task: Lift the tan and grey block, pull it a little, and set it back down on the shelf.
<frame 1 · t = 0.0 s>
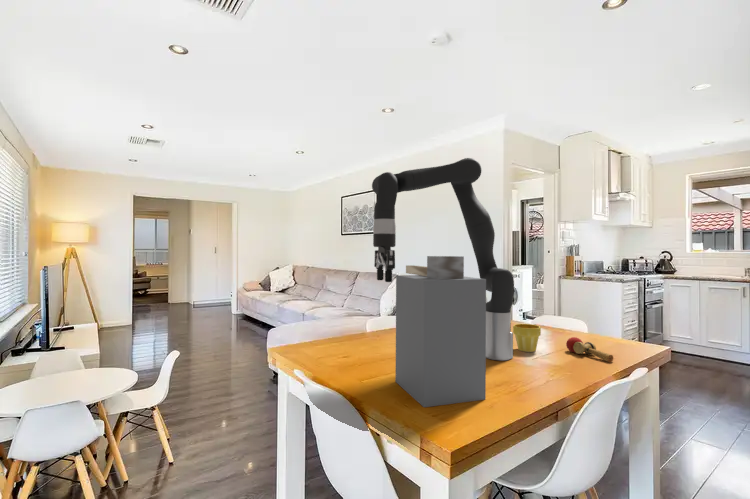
hand: (384, 281, 129), 29 cm above the table, fingers open, 8 cm apart
plant pot: (526, 350, 154), on the table
kendama: (588, 357, 146), on the table
shelf: (437, 389, 109), on the table
tan and grey block: (445, 278, 105), point 32 cm above the table, touching shelf
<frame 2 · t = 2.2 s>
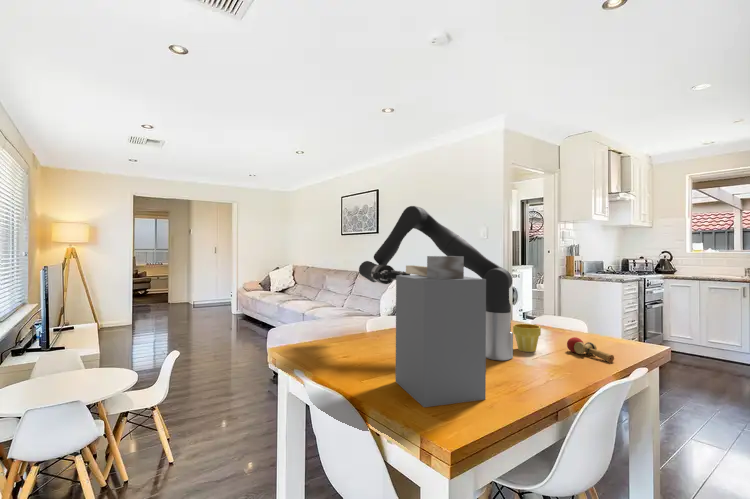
hand: (397, 276, 139), 30 cm above the table, fingers open, 8 cm apart
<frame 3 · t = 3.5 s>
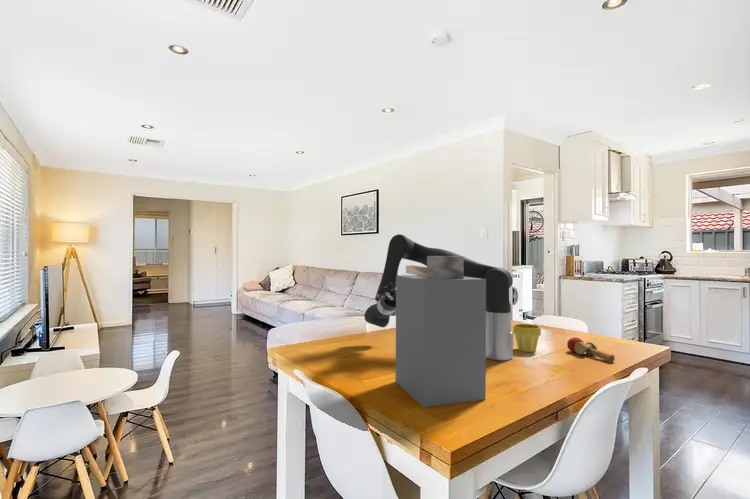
hand: (403, 285, 134), 28 cm above the table, fingers open, 8 cm apart
nothing on the table moved.
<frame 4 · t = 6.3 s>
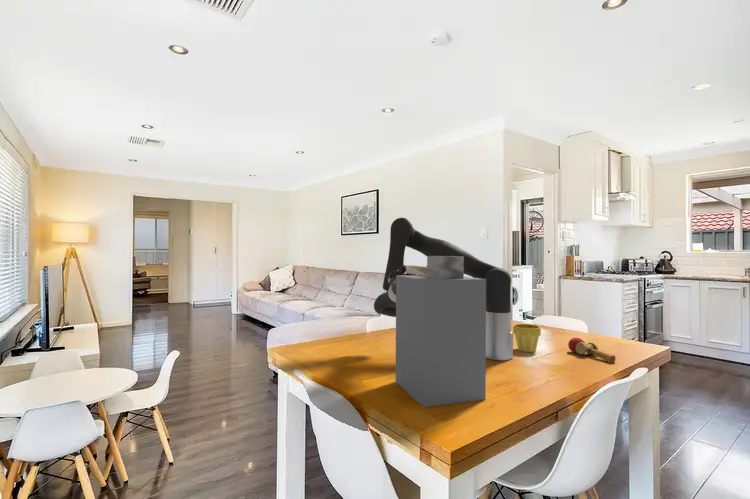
hand: (417, 267, 123), 34 cm above the table, fingers open, 8 cm apart
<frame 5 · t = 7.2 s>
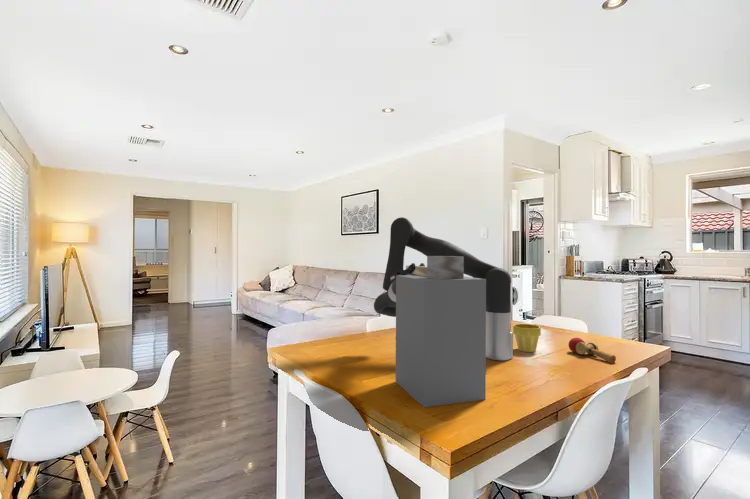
hand: (418, 265, 122), 35 cm above the table, fingers closed on tan and grey block, 2 cm apart
tan and grey block: (445, 278, 105), point 32 cm above the table, touching gripper, shelf
when the fingers open (36 cm above the table, at t = 10.5 s): tan and grey block stays where it is, resting on shelf.
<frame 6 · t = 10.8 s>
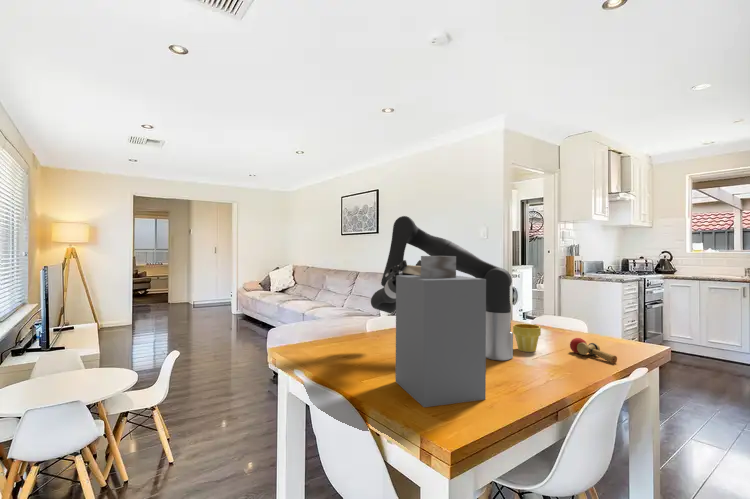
hand: (413, 262, 126), 36 cm above the table, fingers open, 5 cm apart
tan and grey block: (438, 277, 109), point 32 cm above the table, touching shelf
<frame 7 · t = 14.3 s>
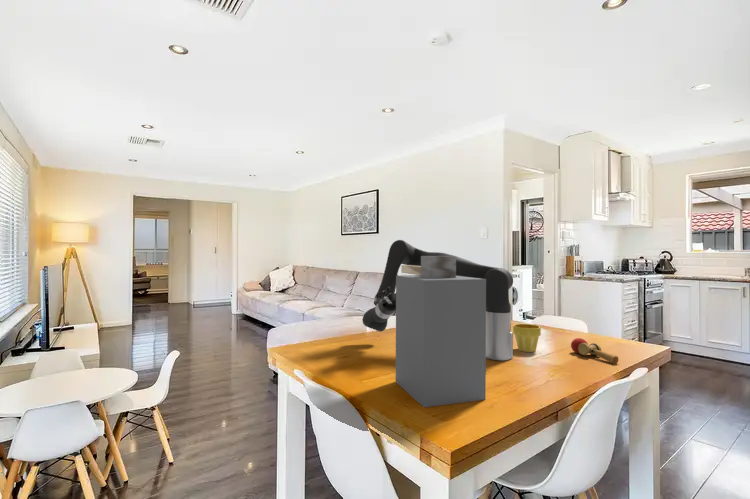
hand: (401, 288, 136), 26 cm above the table, fingers open, 8 cm apart
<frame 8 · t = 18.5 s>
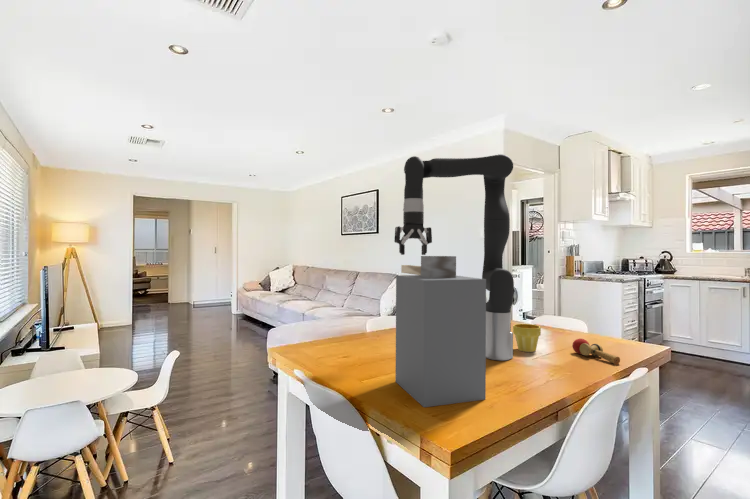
hand: (413, 254, 144), 38 cm above the table, fingers open, 8 cm apart
at the end: tan and grey block 0.5 cm from the target spot, point 32.0 cm above the table; the gripper is holding nothing; tan and grey block tilted 0° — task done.
